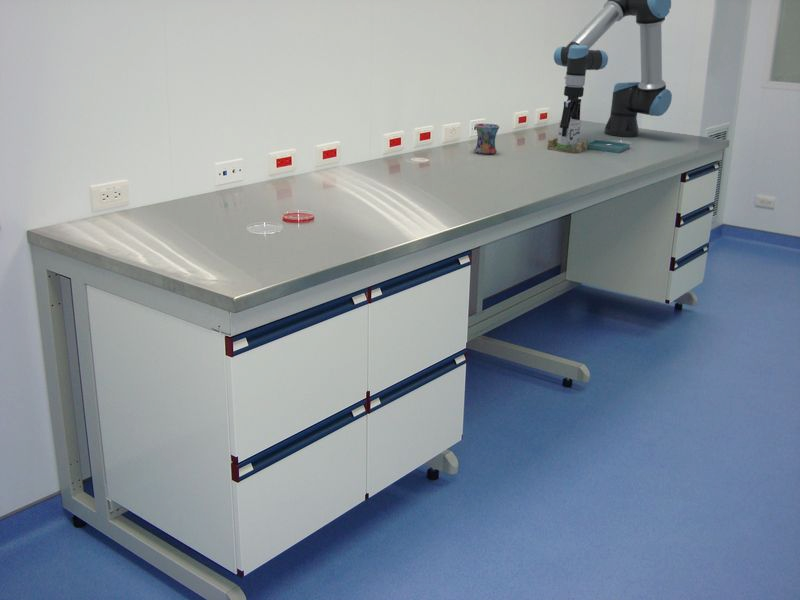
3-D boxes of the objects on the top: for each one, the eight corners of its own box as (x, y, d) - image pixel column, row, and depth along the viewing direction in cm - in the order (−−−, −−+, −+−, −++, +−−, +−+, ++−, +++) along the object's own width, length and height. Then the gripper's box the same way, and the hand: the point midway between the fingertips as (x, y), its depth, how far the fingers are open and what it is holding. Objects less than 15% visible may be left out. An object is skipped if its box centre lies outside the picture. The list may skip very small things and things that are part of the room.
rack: (557, 145, 350) (558, 136, 349) (587, 149, 344) (588, 140, 343) (547, 149, 340) (547, 140, 338) (577, 153, 334) (578, 144, 333)
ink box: (566, 151, 337) (569, 121, 333) (556, 149, 341) (559, 119, 336) (578, 149, 343) (581, 119, 339) (568, 147, 346) (571, 118, 342)
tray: (594, 143, 357) (594, 139, 356) (629, 148, 350) (629, 144, 349) (583, 148, 346) (584, 143, 345) (619, 153, 339) (620, 148, 338)
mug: (490, 156, 320) (492, 128, 317) (468, 152, 325) (470, 125, 321) (504, 152, 330) (507, 124, 326) (484, 148, 335) (486, 121, 331)
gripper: (574, 83, 344) (568, 138, 352) (555, 87, 326) (549, 145, 334) (592, 84, 340) (585, 140, 348) (574, 89, 322) (567, 147, 330)
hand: (568, 142), depth 341 cm, fingers closed on ink box, 9 cm apart
